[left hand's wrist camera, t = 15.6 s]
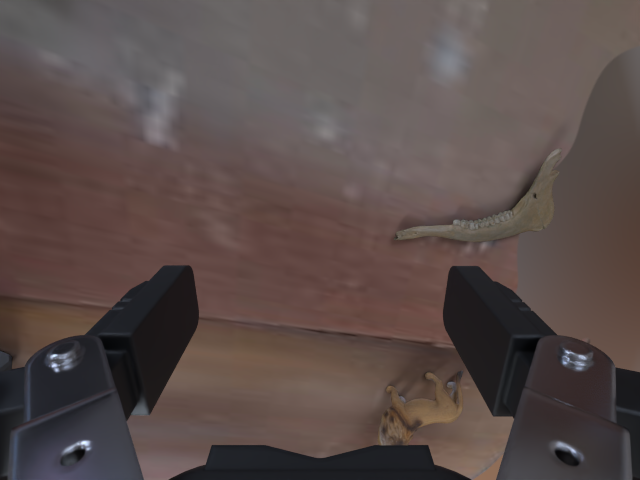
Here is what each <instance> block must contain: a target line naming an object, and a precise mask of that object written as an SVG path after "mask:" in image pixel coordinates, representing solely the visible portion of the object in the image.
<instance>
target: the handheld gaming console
mask: <svg viewBox="0 0 640 480" xmlns="http://www.w3.org/2000/svg"><path fill="white" fill-rule="evenodd" d="M11 369H12V356H10V355H9V354H6V353H4V352H1V351H0V372H2V371H7V370H11Z"/></svg>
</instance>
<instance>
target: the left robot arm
mask: <svg viewBox="0 0 640 480" xmlns="http://www.w3.org/2000/svg"><path fill="white" fill-rule="evenodd" d="M198 319H199V309H198V302H197V295H196V288H195V281H194V274H193V270H192V268H191V267H190V266H163V267H162V268H161V269H160V270H159V271H158V272H157V273H156V274H155V275H154V276H153V277H152V278H151V279H150V281H145V282H143V283H141V284H140V285H138V286H136V287H134V288H132V289H131V290H129V291H128V292H127V293H126V294H125V295H124V296H123V297H122V298H121V299H120V302H117V303H116V304H115V305H114V306H113V307H112V310H109V311H108V312H107V313H106V314H105V315H104V316H103V317H102V318H101V319H100V320H99V321H98V322H97V323H96V324H95V325H94V326H93V327H92V328H91V329H90V330H89V331H88V332H87V333H86V334H85V335H80V336H73V337H68V338H65V339H62V340H59V341H56V342H54V343H52V344H49V345H48V346H46V347H44V348H42V349H41V350H39V351H38V352H36V353H35V354H34V355H33V356H32V357H31V358H30V359H29V360H28V361H27V363H26V365H25V367H22V368H17V369H12V370H7V371H2V372H0V480H144V479H143V475H142V472H141V468H140V465H139V462H138V458H137V455H136V452H135V448H134V445H133V442H132V438H131V435H130V432H129V428H128V425H127V420H128V418H129V417H130V415H150V413H151V412H152V410H153V408H154V406H155V404H156V402H157V400H158V399H159V397H160V395H161V393H162V391H163V389H164V388H165V386H166V384H167V382H168V380H169V378H170V376H171V375H172V373H173V371H174V369H175V367H176V365H177V364H178V362H179V360H180V358H181V356H182V354H183V352H184V351H185V349H186V347H187V345H188V343H189V341H190V340H191V338H192V336H193V334H194V332H195V330H196V328H197V325H198ZM443 321H444V326H445V329H446V331H447V333H448V335H449V337H450V338H451V340H452V342H453V344H454V346H455V348H456V349H457V351H458V353H459V355H460V357H461V359H462V360H463V362H464V364H465V366H466V368H467V369H468V371H469V373H470V375H471V377H472V379H473V380H474V382H475V384H476V386H477V388H478V390H479V391H480V393H481V395H482V397H483V399H484V400H485V402H486V404H487V406H488V408H489V410H490V411H491V413H492V415H493V416H513V418H514V422H513V425H512V428H511V432H510V435H509V438H508V442H507V445H506V448H505V452H504V455H503V458H502V462H501V465H500V469H499V472H498V475H497V479H496V480H640V372H635V371H630V370H625V369H620V368H616V367H615V365H614V363H613V361H612V360H611V359H610V358H609V357H608V356H607V355H606V354H605V353H604V352H602V351H601V350H599V349H598V348H596V347H594V346H592V345H591V344H588V343H586V342H584V341H581V340H578V339H575V338H572V337H567V336H560V335H557V334H556V333H555V332H554V331H553V330H552V329H551V328H550V327H549V326H548V325H547V324H546V323H545V322H544V321H543V320H542V319H541V318H540V317H539V316H538V315H537V314H536V313H534V312H533V311H531V309H530V308H529V307H528V306H527V305H526V304H525V303H524V302H522V300H521V299H520V298H519V297H518V296H517V295H516V294H515V293H514V292H513V291H512V290H511V289H509V288H507V287H505V286H503V285H502V284H500V283H498V282H493V281H492V280H491V279H490V278H489V277H488V276H487V274H486V273H485V272H484V271H483V270H482V269H481V268H480V267H478V266H452V267H451V268H450V271H449V275H448V281H447V288H446V295H445V301H444V308H443ZM169 480H471V479H469V478H467V477H465V476H463V475H461V474H459V473H457V472H455V471H452V470H449V469H447V468H444V467H441V466H437V465H434V463H433V459H432V456H431V453H430V450H429V447H428V445H374V446H370V447H366V448H362V449H358V450H354V451H350V452H346V453H342V454H338V455H334V456H330V457H326V458H314V457H310V456H306V455H302V454H298V453H294V452H290V451H286V450H282V449H278V448H274V447H270V446H266V445H212V447H211V450H210V453H209V456H208V459H207V462H206V465H203V466H199V467H196V468H193V469H191V470H188V471H185V472H183V473H181V474H179V475H177V476H175V477H173V478H171V479H169Z"/></svg>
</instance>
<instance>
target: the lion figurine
mask: <svg viewBox="0 0 640 480" xmlns="http://www.w3.org/2000/svg"><path fill="white" fill-rule="evenodd" d="M462 373H463V371H460V372H458V374H457V377H456V383H455V382H448V383H447V387H448V388H449V389H453V391H452V393H451V394H450V395H449V394H448V393H447V392H446V391H445V390H444V388H443V385H442V381H441V380H439V379H438V378H437V377H436V376H435V375H434V374H432V373H430V372H428V373H426V374H425V378H426V379H427V380H433V381H434V382H435V397H436V399H435V400H433V401H432V400H429V399H423V398H419V399H413V400H411V401H408V402H407V403H406V400H405V399H404V397H402V396H399V395H398V392H397V390H396V389H395V388H394V387H393V386H388V387H387V389H386V390H387V392H388V393H391V401H392V407H390V408H388V409H387V410H386V412H385V413H384V414H383V415H382V419H381V424H380V427H379V429H378V433H379V435H378V444H379V445H408V443H409V442H410V440H412V438H413V433H414V432H415V431H416V430H417V429H418V428H419V427H422V426H425V425H428V424H432V423H451V422H453V421H455V420H456V419H457V418H458V416H459V415H460V414H461V412H462V408H463V398H462V392H461V387H460V379H461V377H462ZM457 398H458V404H456V401H457Z"/></svg>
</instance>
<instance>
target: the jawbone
mask: <svg viewBox="0 0 640 480" xmlns="http://www.w3.org/2000/svg"><path fill="white" fill-rule="evenodd" d="M561 151H562V150H561V148H560V149H556V150H554V151H553V152H552V153H551V154H550V155H549V156H548V157H547V158H546V160H545V161H544V163H543V165H542V166H541V168H540V170H539V173H538V175H537V176H536V178H535V180H534V182H533V184H532V186H531V187H530V189H529V191H528V192H527V193H526V194H525V196H524V197H523V198H521V199H520V201H519V202H518V203H517V205H516V206H515V207H514V208H513V209H512V210H508V211H504V213H501V212H500V213H499V214H498V215H496V214H495V215H493V216H492V217H491V216H488V218H487V219H486V218H483V219H482V220H481V219H478V220H477V221H476V220H475V221H474V222H473V221H472V220H470V221H469V222H468V221H466V220H464V219H463V220H461V221H460V220H458V219H456V220H454V221H453V224H452V225H438V226H418V227H412V228H409V229H407V230H402V231H398V232H396V237H395V238H394V240H406V239H413V238H418V237H424V236H437V237H444V238H449V239H454V240H460V241H468V242H484V241H491V240H497V239H502V238H506V237H510V236H513V235H516V234H519V233H522V232H526V231H540V230H542V229H545V228H546V227H547V226H548V225H549V224H550V222H551V220H552V218H553V215H554V201H553V197H552V186H553V182H554V180H555V179H556V178H557V176H558V175H559V171H556V170H555V171H552V169H553V167H554V165H555V164H556V162H557V161H558V160H559V159H560V158H561V156H560V153H561Z"/></svg>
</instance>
